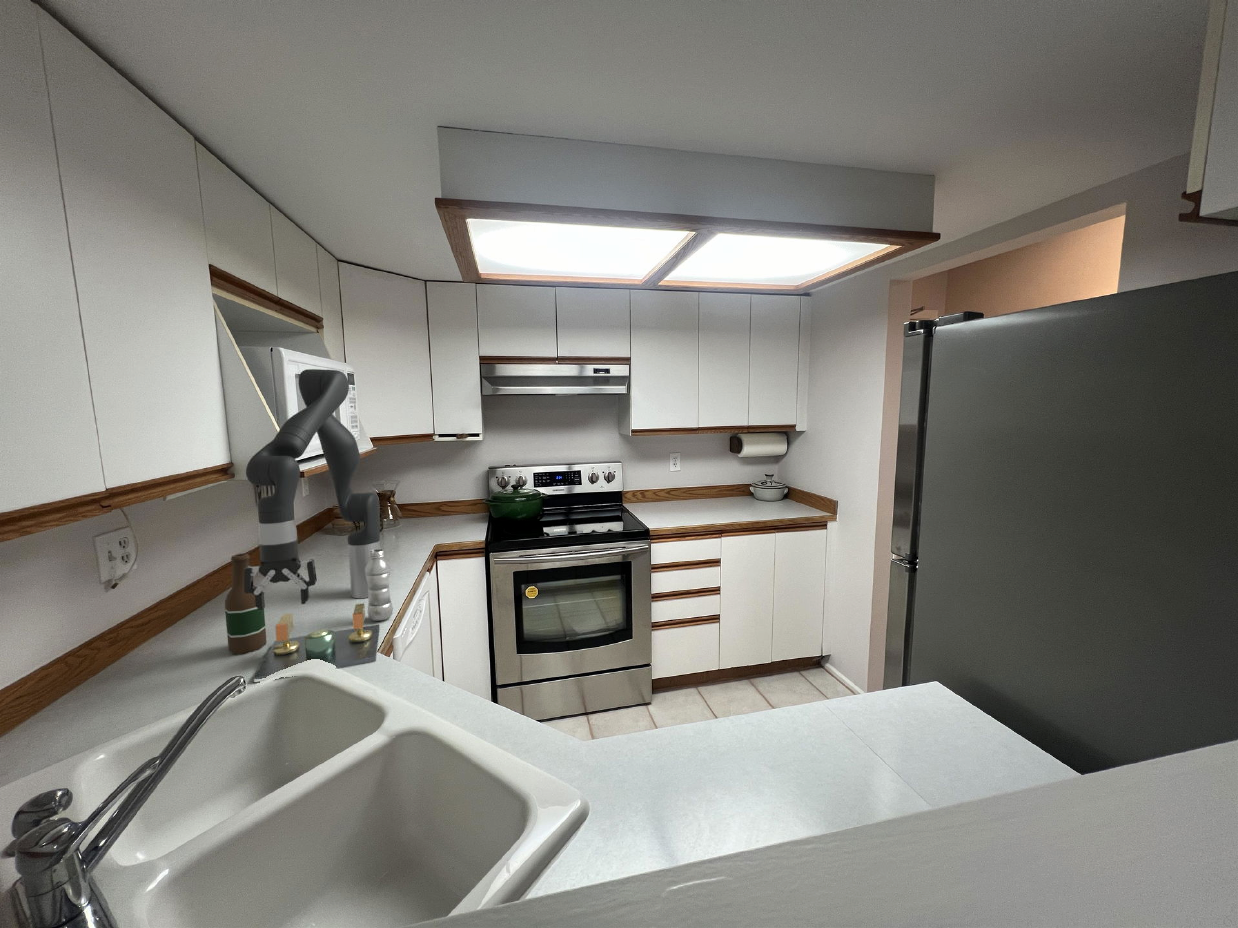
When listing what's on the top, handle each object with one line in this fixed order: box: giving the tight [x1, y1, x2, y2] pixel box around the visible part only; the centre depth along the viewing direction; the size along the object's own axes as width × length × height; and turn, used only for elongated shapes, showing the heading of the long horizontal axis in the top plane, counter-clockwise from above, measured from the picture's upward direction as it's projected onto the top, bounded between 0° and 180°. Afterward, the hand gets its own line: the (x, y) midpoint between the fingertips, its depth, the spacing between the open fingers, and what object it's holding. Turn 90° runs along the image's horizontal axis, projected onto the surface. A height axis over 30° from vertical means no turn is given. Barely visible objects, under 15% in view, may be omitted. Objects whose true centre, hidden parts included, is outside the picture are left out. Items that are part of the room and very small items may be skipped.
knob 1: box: [273, 612, 299, 655], centre depth 121 cm, size 8×5×8 cm
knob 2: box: [349, 602, 372, 642], centre depth 128 cm, size 8×5×8 cm
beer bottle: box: [224, 553, 267, 655], centre depth 125 cm, size 8×8×24 cm
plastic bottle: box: [365, 548, 394, 622], centre depth 143 cm, size 6×7×20 cm
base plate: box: [253, 624, 381, 680], centre depth 123 cm, size 20×24×7 cm
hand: (283, 605), depth 121 cm, fingers open, 8 cm apart
